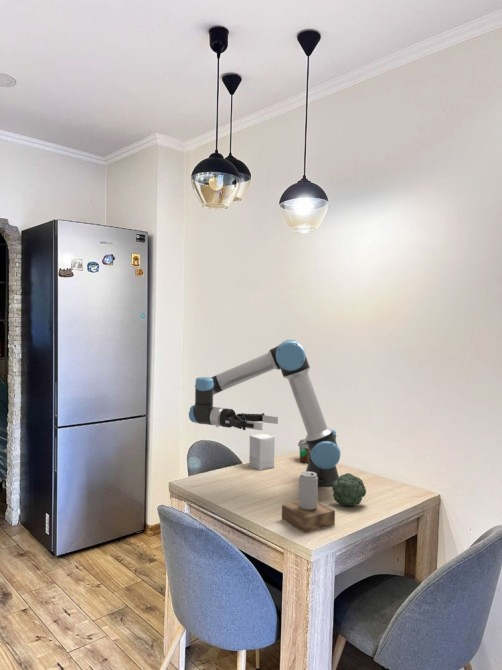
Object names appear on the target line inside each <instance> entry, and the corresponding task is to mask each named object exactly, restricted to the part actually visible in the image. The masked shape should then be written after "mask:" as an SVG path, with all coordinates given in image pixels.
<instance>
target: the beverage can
mask: <svg viewBox="0 0 502 670" xmlns="http://www.w3.org/2000/svg"><path fill="white" fill-rule="evenodd" d="M298 485H299V486H298V501H299V506H300V507H301V509H303V510H314V509H315V508H317V502H318V495H319V494H318V493H319V491H318V489H319V488H318V487H319V486H318V477H317V474H316V473H315V472H310V471H306V470H304V471H301V472H300V475H299V481H298Z"/></svg>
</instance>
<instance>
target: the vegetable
mask: <svg viewBox="0 0 502 670" xmlns="http://www.w3.org/2000/svg"><path fill="white" fill-rule="evenodd" d="M331 488H332V492H333V494H332V496H333V500H334V501H335V502H336V503H337V504H339V506H351V507H354V506H356V505H360V503H361V502H362V500H363V498H364V497H365V496H366V493H367V489H366V486H365V484H364V482H363V480H362V479H361V478H360V477H358V476H355V475H353V474H352V473H349V472H347V473H345V474H341V475H339V478H338V480H336V481H334V482H333V484H332V486H331Z"/></svg>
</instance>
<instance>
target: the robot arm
mask: <svg viewBox="0 0 502 670" xmlns="http://www.w3.org/2000/svg"><path fill="white" fill-rule="evenodd" d="M309 364H310V363H309V361H308V358H307V356H306V350H305V348H304V347H303V345H302V344H301V343H299V342H298V341H296V340H294V339H287V340H284V341H283V342H281V343H280V344H278V345H276V346H274V347H273V348H270V349H269V350H268V352H267V353H265V354H262V355H260V356H258V357H256V358H253V359H250V360H249V361H246V362H244V363H241V364H239V365H237V366H234V367H232V368H229V369H228V370H225V371H223V372H221V373H217V374H216V375H214V376H211V377H209V376H201V377H200V376H199V377H197V378H195V383H194V384H195V385H194V388H195V389H194V391H195V393H194V397H195V398H194V399H195V400H194V404H193V405H191V406H190V408H189V412H188V419H189V420H190V421H191V422H192V423H195V424H199V425H207V426H215V427H216V428H219V427H222V428H236V429H239V430H242V431H246V430H247V429H249V430H256V431H263V423H268V424H273V425H278V424H279V423H278V422H279V417H278V416H274V415H273V416H272V415H265V413H264V412H262V413H244V412H242V413H237V414H236V412H235V410H234V409H233V408H224V407H217V406H214V395H216V394H218V393H221V392H224V391H225V390H228V389H230V388H232V387H235V386H237V385H239V384H243V383H244V382H247V381H249V380H252V379H254V378H256V377H259V376H261V375H263V374H265V373H267V372H268V373H269V372H271V371H273V370H278V371H279V370H280V371H281V375H282V376H283V378H284V379H287V380H288V383H289V385H290V388H291V389H290V390H291V391H292V394H293V397H294V400H295V402H296V405H297V409H298V410H299V415H300V417H301V420H302V423H303V425H304V429H305V431H306V434H307V435H306V437H305V438H304V439H305V440H306V442H307V445H308V448H309V463H308V464H307V466H306V470H305V471H310V472H315V473H316V474H317V477H318V487H330V486H331V487H332V484H333V482H334V481H336V480H338V478H339V476H340V475H339V473H338V469H337V464H338V463H340V459H341V449H340V447H339V446H338V442H337V439H336V438H337V431H336V429H332V428H330V427H327V426H328V425H327V423H326V420H325V417H324V415H323V412H322V409H321V406H320V404H319V400H318V398H317V395H316V393H315V390H314V386H313V384H312V381H311V378H310V374H309V371H310V368H311V367H310V365H309Z"/></svg>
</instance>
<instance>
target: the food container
mask: <svg viewBox="0 0 502 670" xmlns="http://www.w3.org/2000/svg"><path fill="white" fill-rule="evenodd" d="M297 446H298V447H299V449H298V450H299V461H300V463H302V464H305V463H307V464H306V465H308V463H309V448H308V445H307V442H306V440H305V438H303V439H299V441H298V443H297Z"/></svg>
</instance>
